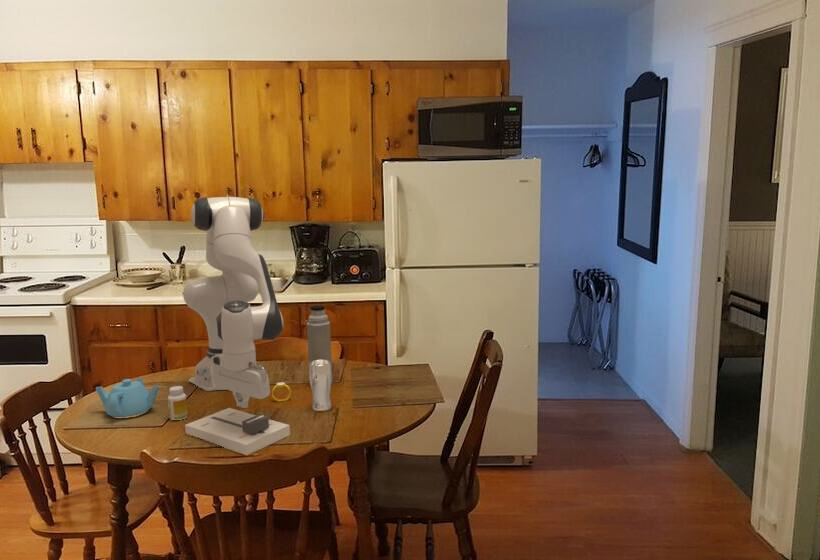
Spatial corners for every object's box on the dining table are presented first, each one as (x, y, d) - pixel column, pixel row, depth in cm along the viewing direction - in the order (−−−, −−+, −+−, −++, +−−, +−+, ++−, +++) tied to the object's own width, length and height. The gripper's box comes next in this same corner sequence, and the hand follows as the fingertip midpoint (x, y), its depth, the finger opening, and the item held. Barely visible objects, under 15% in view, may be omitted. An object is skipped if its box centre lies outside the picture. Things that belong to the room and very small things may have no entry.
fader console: (185, 434, 192) (185, 424, 191) (229, 417, 205) (229, 407, 204) (246, 455, 177) (245, 444, 177) (290, 435, 190) (289, 424, 189)
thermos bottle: (319, 379, 239) (315, 303, 234) (337, 382, 235) (333, 305, 230) (305, 386, 232) (301, 307, 227) (323, 389, 228) (319, 309, 223)
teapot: (96, 412, 212) (93, 380, 210) (143, 400, 222) (140, 369, 220) (113, 425, 201) (109, 391, 199) (162, 412, 211) (159, 379, 209)
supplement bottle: (191, 415, 207) (189, 385, 205) (180, 422, 202) (177, 391, 200) (177, 414, 208) (174, 384, 207) (165, 420, 203) (163, 390, 202)
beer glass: (329, 412, 207) (326, 366, 204) (307, 411, 208) (305, 365, 206) (335, 404, 213) (333, 359, 211) (315, 403, 215) (313, 358, 212)
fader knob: (242, 431, 184) (242, 421, 184) (259, 424, 189) (258, 414, 189) (252, 434, 182) (251, 423, 182) (269, 427, 187) (268, 416, 186)
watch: (273, 403, 216) (270, 386, 215) (273, 400, 219) (270, 383, 218) (291, 400, 218) (289, 383, 216) (291, 398, 220) (289, 380, 219)
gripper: (274, 363, 182) (276, 411, 184) (225, 351, 193) (228, 396, 196) (256, 369, 177) (259, 418, 179) (207, 356, 188) (210, 402, 191)
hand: (242, 406), depth 188 cm, fingers closed
